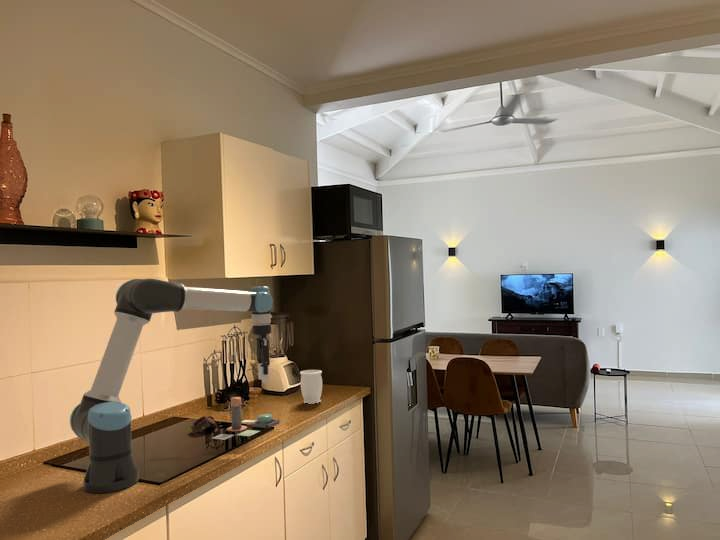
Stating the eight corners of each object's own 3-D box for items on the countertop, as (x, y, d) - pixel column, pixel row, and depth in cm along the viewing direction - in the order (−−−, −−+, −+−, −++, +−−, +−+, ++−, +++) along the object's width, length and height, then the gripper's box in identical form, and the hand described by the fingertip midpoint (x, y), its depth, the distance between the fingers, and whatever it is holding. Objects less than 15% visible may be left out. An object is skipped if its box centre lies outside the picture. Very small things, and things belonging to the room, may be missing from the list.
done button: (267, 423, 212) (266, 418, 212) (254, 422, 215) (254, 417, 215) (275, 419, 218) (275, 414, 218) (263, 418, 220) (262, 413, 220)
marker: (240, 429, 210) (239, 399, 210) (230, 429, 210) (229, 399, 210) (243, 426, 214) (242, 396, 214) (233, 427, 214) (232, 397, 214)
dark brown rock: (217, 438, 206) (205, 421, 204) (196, 449, 207) (184, 432, 205) (225, 422, 217) (213, 406, 216) (205, 432, 218) (194, 416, 217)
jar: (297, 404, 256) (296, 372, 256) (307, 399, 265) (306, 369, 265) (316, 405, 251) (315, 373, 252) (326, 400, 261) (325, 369, 261)
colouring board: (238, 447, 192) (237, 440, 192) (198, 443, 199) (198, 436, 199) (281, 425, 218) (281, 419, 218) (245, 422, 226) (245, 416, 226)
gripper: (276, 325, 209) (278, 384, 208) (266, 322, 227) (268, 375, 227) (256, 326, 206) (258, 386, 206) (248, 323, 225) (250, 377, 224)
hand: (263, 380), depth 216 cm, fingers open, 7 cm apart
